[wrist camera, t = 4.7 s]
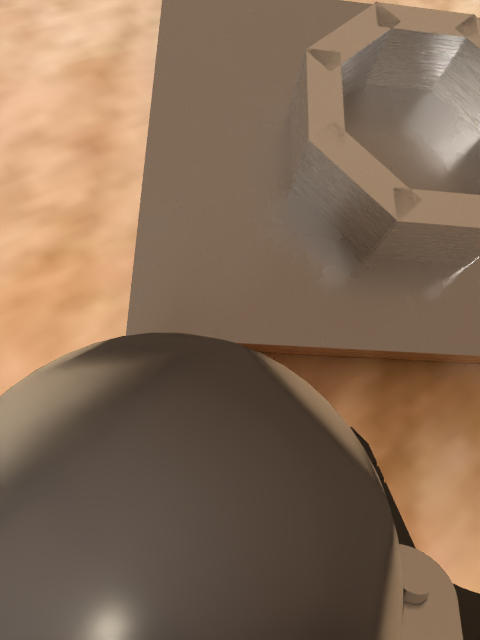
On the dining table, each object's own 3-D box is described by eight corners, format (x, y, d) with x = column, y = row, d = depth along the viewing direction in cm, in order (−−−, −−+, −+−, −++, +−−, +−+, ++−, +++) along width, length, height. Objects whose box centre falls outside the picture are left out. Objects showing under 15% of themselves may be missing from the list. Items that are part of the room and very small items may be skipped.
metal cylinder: (82, 600, 13) (-191, 932, 4) (104, 420, 15) (-46, 320, 5) (258, 600, 13) (428, 893, 4) (260, 425, 15) (384, 344, 6)
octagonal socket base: (129, 345, 15) (114, 310, 12) (165, 0, 21) (161, -90, 17) (668, 373, 17) (782, 349, 14) (578, 51, 22) (645, -22, 19)
